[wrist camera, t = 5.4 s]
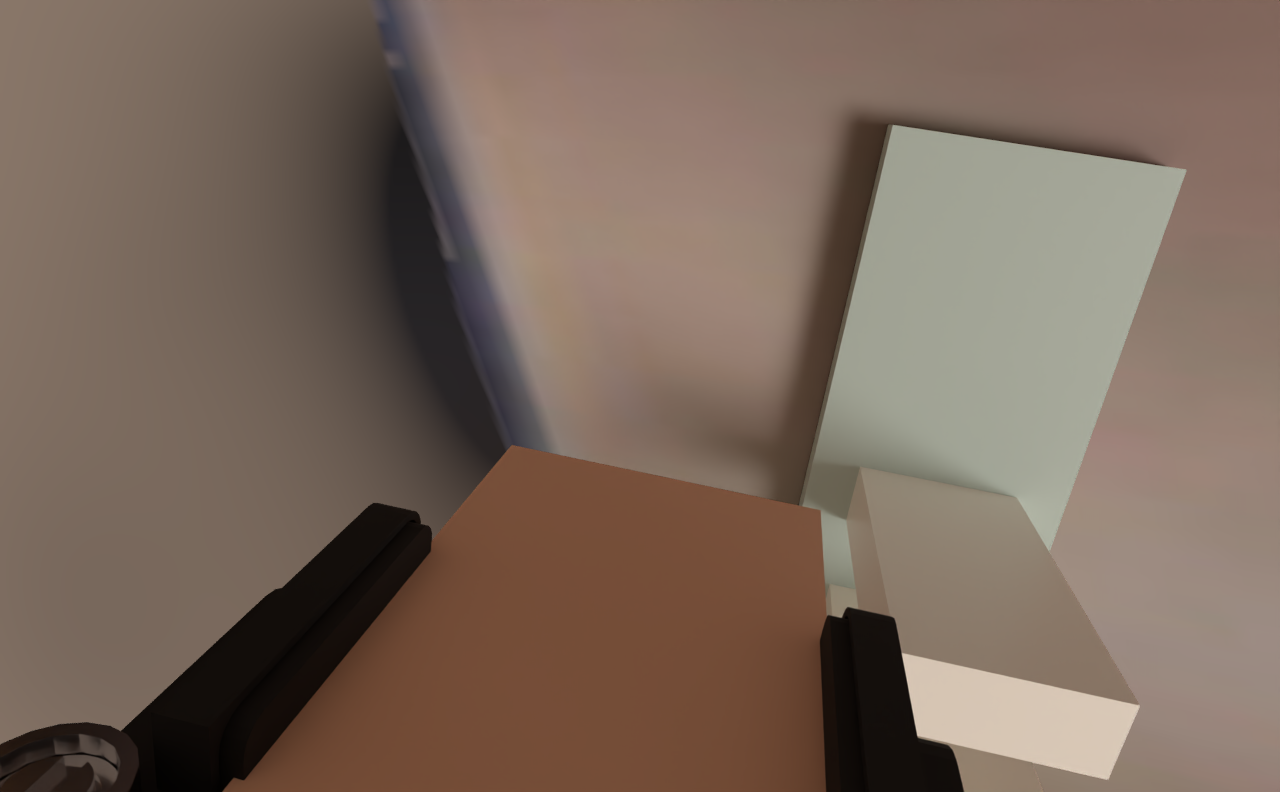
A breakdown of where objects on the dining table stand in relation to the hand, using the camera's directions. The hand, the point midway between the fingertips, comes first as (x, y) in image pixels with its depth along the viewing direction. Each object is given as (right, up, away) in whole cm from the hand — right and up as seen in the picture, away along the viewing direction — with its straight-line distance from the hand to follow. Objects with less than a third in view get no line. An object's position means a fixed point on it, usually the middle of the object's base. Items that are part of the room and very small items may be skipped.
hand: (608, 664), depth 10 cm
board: (+10, -2, +19) cm, 21 cm away
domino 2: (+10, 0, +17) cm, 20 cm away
